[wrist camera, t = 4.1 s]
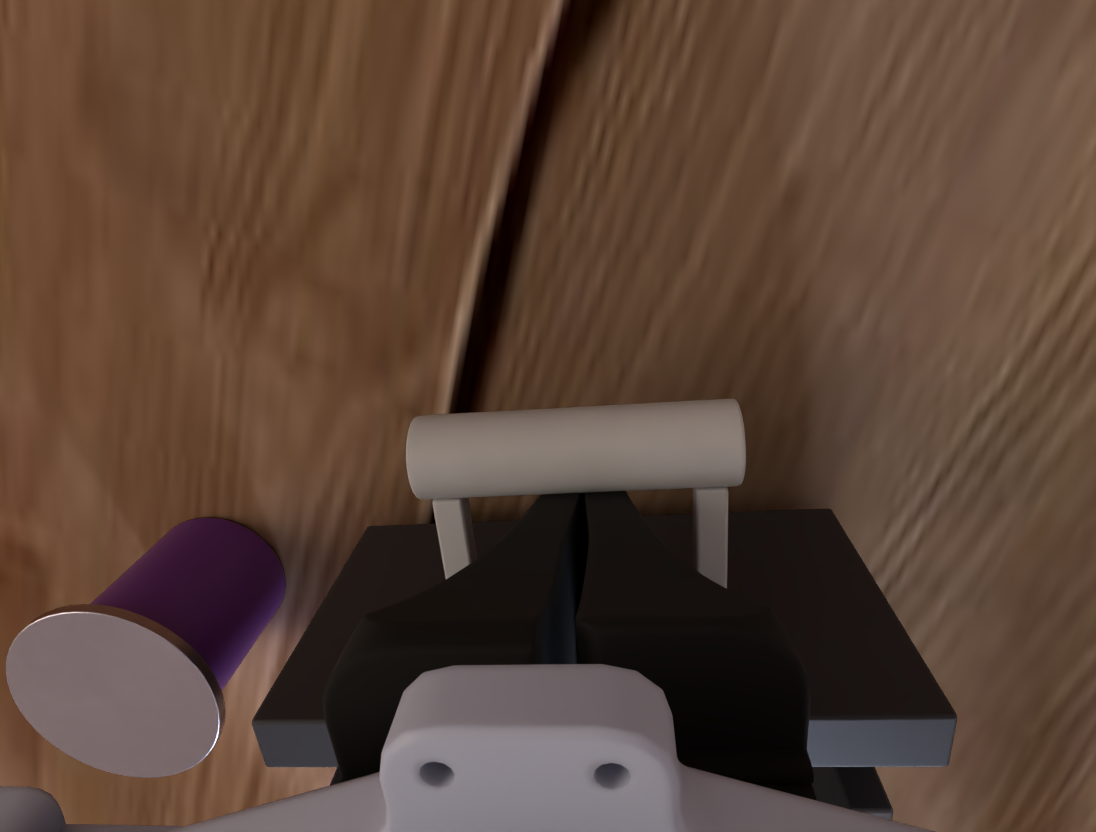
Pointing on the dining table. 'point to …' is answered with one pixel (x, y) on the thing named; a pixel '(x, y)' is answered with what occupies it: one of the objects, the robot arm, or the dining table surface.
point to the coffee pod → (149, 652)
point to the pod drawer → (698, 539)
